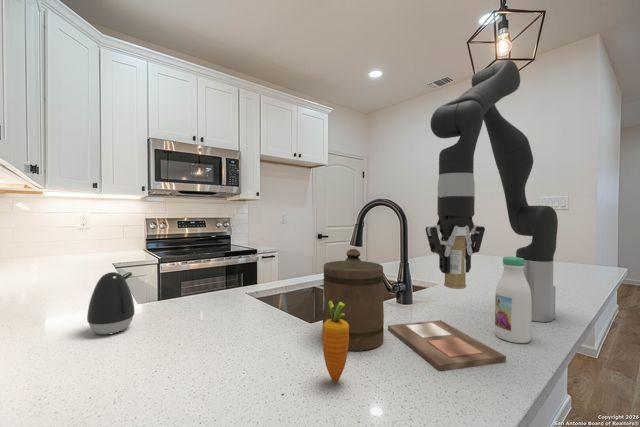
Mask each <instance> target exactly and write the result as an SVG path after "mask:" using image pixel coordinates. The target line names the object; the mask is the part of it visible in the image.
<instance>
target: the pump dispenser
mask: <svg viewBox="0 0 640 427" xmlns="http://www.w3.org/2000/svg"><path fill="white" fill-rule="evenodd" d="M132 276H133V273H132V272H131V271H129V272H127V273H125V274H123V275H122V274H121V273H118V272H114V271H113V272H111V271H110V272H107V273H105V274H103V275H102V276H101V277H99V279H98V281H97V283H96V285H95V286H94V289H93V291H92V294H91V297H90V300H89V303H88V309H87V315H86V321H87V324H88V325H89V327H90V329H91V330H92V332H94V333H95V334H97V335H102V334H110V333H115V334H117V333H116V332H118V333H120V332H119V331H121V332H122V331H124V330H126V329H127V328H128V327H129V326H130V325H131V323H132V320H133V318H134V316H135V313H136V312H135V304H134V298H133V294H132V291H131V289H130V286H129V284H128V282H127V280H128V278H130V277H132ZM110 335H111V334H110Z"/></svg>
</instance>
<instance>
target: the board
mask: <svg viewBox="0 0 640 427" xmlns="http://www.w3.org/2000/svg"><path fill="white" fill-rule="evenodd" d="M387 330H388V331H389V332H390V333H391V334H393V335H394V336H395V337H396V338H398V339H399V340H400V341H401V342H402V343H403V344H405V345H406V346H408V348H410V349H411V350H412V351H414V352H415V353H416V354H417V355H418V356H420V357H421V358H422V359H423V360H425V361H426V362H427V363H428V364H429V365H431V366H433V367H434V368H435V369H436V370H437V371H438V372H442V371H448V370H449V371H450V370H457V369H464V368H471V367H479V366H487V365H491V364H492V365H493V364H500V363H501V364H502V363H506V362H507V356H506V355H505V354H503V353H501V352H499V351H497V350H496V349H494V348H492V347H490V346H489V345H487V344H485V343H483V342H481V341H479V340H478V339H476V338H474V337H472V336H470V335H469V334H466V333H465V332H463V331H461V330H458V329H457V328H456V327H454V326H452V325H450V324H448V323H447V322H445V321H443V320H430V321H419V322H410V323H409V322H408V323H399V324H398V323H396V324H387Z"/></svg>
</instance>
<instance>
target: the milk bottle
mask: <svg viewBox="0 0 640 427" xmlns="http://www.w3.org/2000/svg"><path fill="white" fill-rule="evenodd" d="M524 263H525V261H524V259H523V258H519V257H516V256H504V257H503V258H502V266H503V271H502V274H501V276H500V278H499V279H498V281H497V285H496V288H495V295H494V296H495V301H494V302H495V305H494V306H495V307H494V333H495V335H496V337H498V339H501V340H504V341H507V342H511V343H515V344H528V343H530V342H531V341H532V320H531V316H532V301H531V290H530V287H529V284H528V282H527V280H526V278H525V275H524V272H523V268H524Z"/></svg>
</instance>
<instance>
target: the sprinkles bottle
mask: <svg viewBox="0 0 640 427" xmlns="http://www.w3.org/2000/svg"><path fill="white" fill-rule="evenodd" d="M455 236H456V237H455V242H454V245H453V246H452V247H451V250H450V254H449V256H448V257H450V273H449V274H445V273H444V284H443V285H444V287H446V288H448V289H454V290H463V289H465V288H467V284H466V274H467V273H466V241H465V236H466V230H465V228H464V227H459V228H458V229H457V233H456V234H455ZM445 241H446V242H447V241H448V240H445Z"/></svg>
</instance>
